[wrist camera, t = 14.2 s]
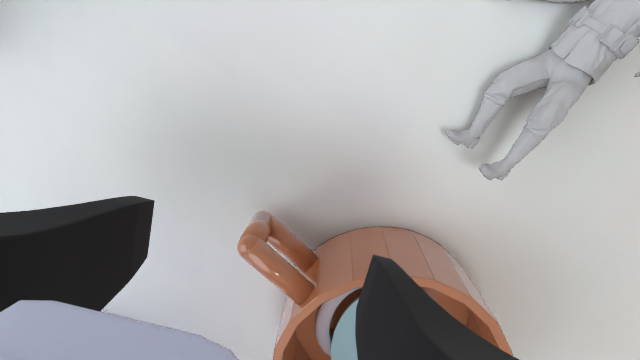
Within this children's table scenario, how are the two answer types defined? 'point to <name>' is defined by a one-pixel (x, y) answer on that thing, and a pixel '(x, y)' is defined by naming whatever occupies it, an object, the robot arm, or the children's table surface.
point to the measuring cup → (355, 279)
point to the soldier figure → (557, 76)
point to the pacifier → (337, 329)
